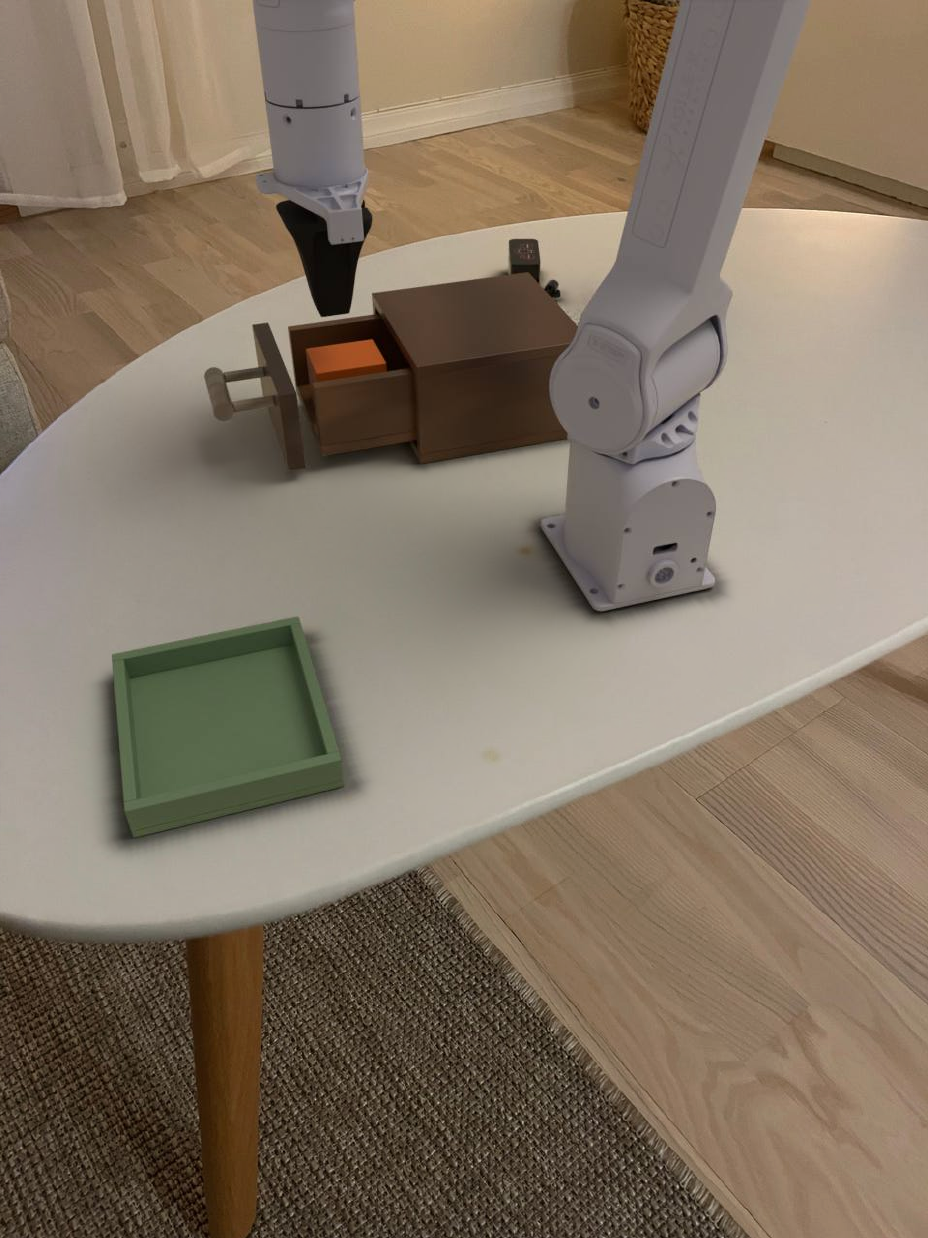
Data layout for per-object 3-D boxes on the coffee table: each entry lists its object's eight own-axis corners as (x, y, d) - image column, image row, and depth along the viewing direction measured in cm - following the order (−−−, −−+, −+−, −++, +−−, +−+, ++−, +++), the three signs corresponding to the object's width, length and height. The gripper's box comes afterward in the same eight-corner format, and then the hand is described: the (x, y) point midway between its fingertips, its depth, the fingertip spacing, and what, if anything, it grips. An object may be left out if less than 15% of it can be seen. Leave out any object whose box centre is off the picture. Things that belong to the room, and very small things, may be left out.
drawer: (228, 481, 69) (213, 405, 65) (207, 403, 78) (194, 332, 74) (447, 444, 73) (446, 370, 69) (406, 372, 81) (402, 303, 77)
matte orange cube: (389, 413, 74) (386, 362, 71) (322, 424, 73) (316, 373, 70) (376, 388, 77) (372, 338, 74) (311, 398, 76) (305, 348, 73)
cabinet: (420, 464, 72) (416, 366, 68) (377, 383, 82) (371, 292, 77) (583, 435, 75) (591, 339, 70) (524, 361, 84) (528, 271, 79)
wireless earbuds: (509, 302, 93) (510, 268, 91) (507, 271, 99) (508, 238, 96) (560, 302, 93) (562, 267, 91) (555, 271, 98) (557, 238, 96)
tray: (345, 786, 50) (341, 759, 49) (133, 838, 48) (124, 811, 47) (302, 641, 58) (298, 615, 57) (119, 680, 56) (111, 653, 55)
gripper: (229, 73, 65) (258, 278, 74) (266, 135, 55) (295, 366, 64) (336, 64, 67) (352, 266, 76) (392, 123, 56) (403, 350, 65)
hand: (333, 311), depth 70 cm, fingers closed
